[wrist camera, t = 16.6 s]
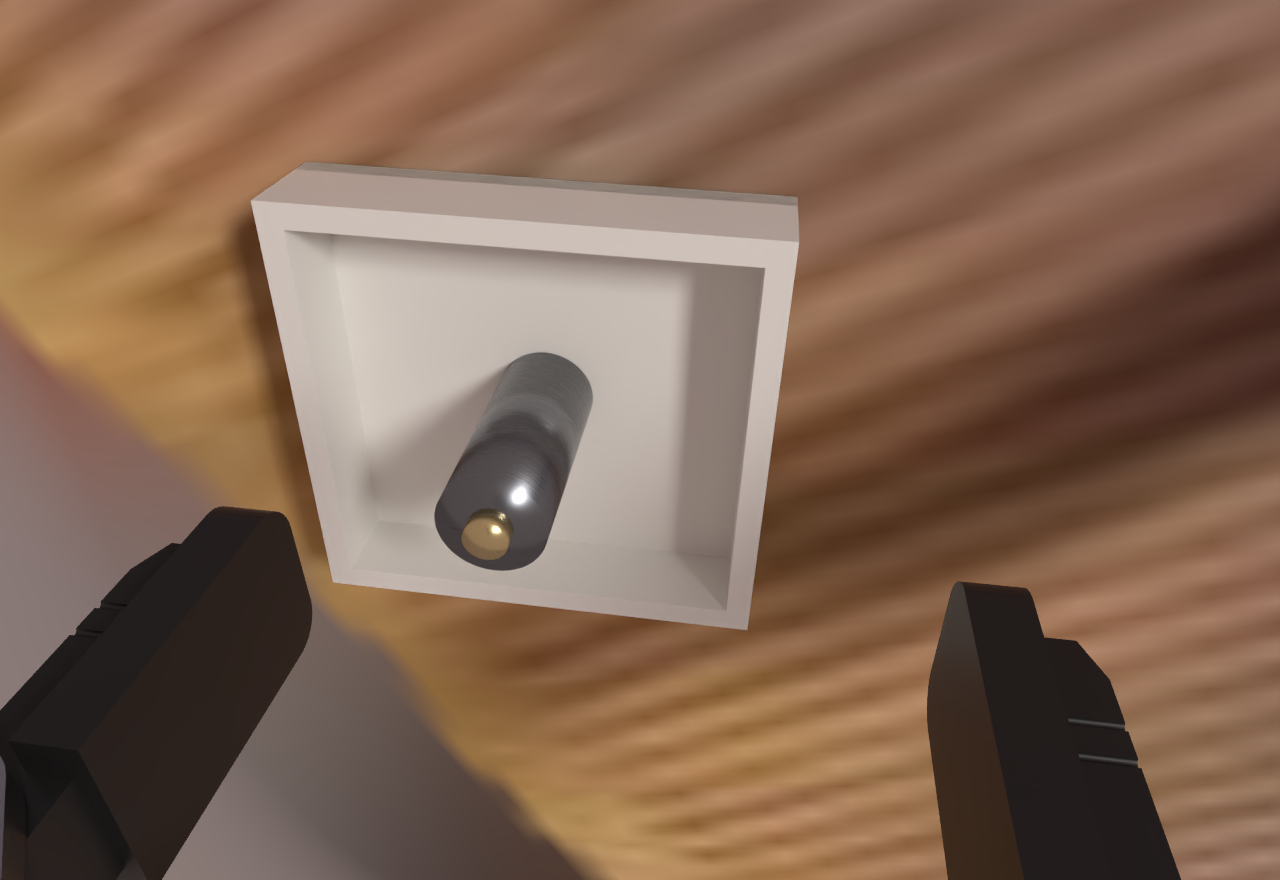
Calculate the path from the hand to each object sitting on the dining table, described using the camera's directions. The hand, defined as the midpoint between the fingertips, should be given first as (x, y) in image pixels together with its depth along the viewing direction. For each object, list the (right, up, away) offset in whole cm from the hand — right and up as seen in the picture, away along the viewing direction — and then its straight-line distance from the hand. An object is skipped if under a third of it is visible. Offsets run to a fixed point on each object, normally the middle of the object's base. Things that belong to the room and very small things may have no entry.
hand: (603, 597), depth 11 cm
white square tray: (-3, +4, +29) cm, 29 cm away
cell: (-4, +4, +28) cm, 28 cm away
